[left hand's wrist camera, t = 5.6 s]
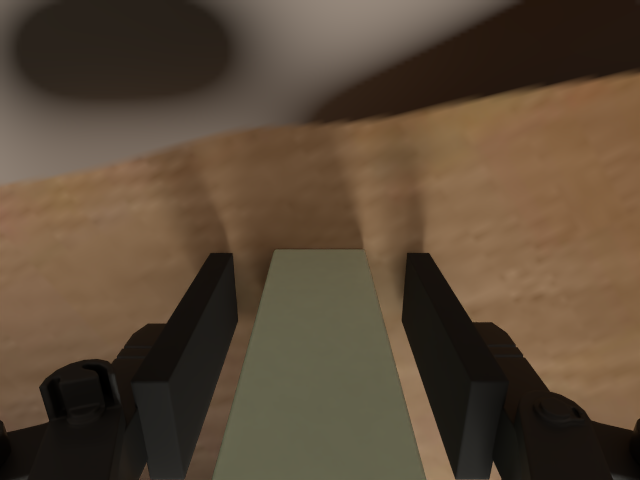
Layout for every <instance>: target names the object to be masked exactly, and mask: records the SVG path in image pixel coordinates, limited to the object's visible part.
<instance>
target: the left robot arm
mask: <svg viewBox="0 0 640 480" xmlns="http://www.w3.org/2000/svg"><path fill="white" fill-rule="evenodd" d="M237 322H238V314H237V302H236V290H235V278H234V266H233V254H232V253H210V255H209V257H208V258H207V260H206V261H205V263H204V265H203V266H202V268H201V269H200V271H199V273H198V274H197V276H196V277H195V279H194V281H193V282H192V284H191V285H190V287H189V289H188V290H187V292H186V293H185V295H184V297H183V298H182V300H181V301H180V303H179V305H178V306H177V308H176V309H175V311H174V312H173V314H172V316H171V317H170V319H169V320H168V322H167V324H147V325H145V326H144V327H143V328H141V329H140V330H138V331H137V332H136V333H134V334H133V335H132V336H131V338H130V339H129V341H128V342H127V343H126V345H125V346H124V349H122V350H121V351H120V353H119V354H118V356H117V359H115V360H114V361H113V362H112V364H110V363H109V362H108V361H104V360H99V359H91V360H82V361H79V362H75V363H71V364H69V365H67V366H65V367H62V368H60V369H58V370H56V371H55V372H54V373H52V374H51V375H50V376H48V377H47V378H46V379H45V380H44V382H43V383H42V384H41V386H40V387H39V389H40V392H41V395H42V398H43V402H44V405H45V408H46V411H47V415H48V418H49V422H48V423H44V424H41V425H37V426H33V427H29V428H24V429H20V430H16V431H11V432H6V429H5V427H4V424H3V422H2V421H1V420H0V480H139V478H140V476H141V473H142V471H143V469H144V467H145V464H146V462H147V465H148V470H149V475H150V480H184V479H185V476H186V473H187V470H188V467H189V464H190V461H191V458H192V455H193V452H194V449H195V446H196V443H197V440H198V437H199V434H200V431H201V429H202V426H203V423H204V420H205V417H206V414H207V411H208V408H209V405H210V402H211V399H212V396H213V393H214V390H215V387H216V384H217V381H218V378H219V375H220V372H221V369H222V366H223V364H224V361H225V358H226V355H227V352H228V349H229V346H230V343H231V340H232V337H233V334H234V331H235V328H236V325H237ZM402 323H403V326H404V329H405V332H406V335H407V338H408V341H409V344H410V347H411V350H412V353H413V355H414V358H415V361H416V364H417V367H418V370H419V373H420V376H421V379H422V382H423V385H424V388H425V391H426V394H427V397H428V400H429V403H430V406H431V409H432V412H433V415H434V418H435V421H436V424H437V426H438V429H439V432H440V435H441V438H442V441H443V444H444V447H445V450H446V453H447V456H448V459H449V462H450V465H451V468H452V471H453V474H454V477H455V480H489V478H490V473H491V468H492V463H493V461H494V463H495V465H496V468H497V470H498V472H499V474H500V476H501V480H640V419H638V420H637V423H636V425H635V428H634V431H632V430H628V429H623V428H619V427H614V426H610V425H606V424H601V423H598V422H595V421H591V420H590V418H589V417H588V415H587V414H586V412H585V411H584V410H583V409H582V408H581V407H580V406H578V405H577V404H576V403H575V402H574V401H572V400H570V399H568V398H566V397H564V396H562V395H560V394H556V393H553V392H550V391H549V390H548V388H547V387H546V385H545V384H544V383H543V381H542V380H541V379H540V377H539V376H538V375H537V373H536V372H535V371H534V369H533V368H532V366H531V365H530V364H529V362H528V361H527V360H526V358H523V354H522V353H521V351H520V350H519V349H518V347H516V345H515V343H514V342H513V341H512V339H511V338H510V337H509V335H508V334H507V333H506V332H505V331H503V330H502V329H501V328H499V327H498V326H496V325H495V324H493V323H492V322H472V321H471V319H470V318H469V316H468V315H467V313H466V311H465V310H464V308H463V307H462V305H461V303H460V302H459V300H458V299H457V297H456V295H455V294H454V292H453V291H452V289H451V287H450V286H449V284H448V283H447V281H446V279H445V278H444V276H443V275H442V273H441V271H440V270H439V268H438V267H437V265H436V264H435V262H434V260H433V259H432V257H431V256H430V254H429V253H407V263H406V275H405V287H404V299H403V311H402Z"/></svg>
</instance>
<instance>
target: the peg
mask: <svg viewBox="0 0 640 480" xmlns="http://www.w3.org/2000/svg"><path fill="white" fill-rule="evenodd" d="M212 480H426V477H425V473H424V469H423V466H422V462H421V458H420V454H419V451H418V447H417V443H416V439H415V436H414V432H413V428H412V424H411V421H410V417H409V413H408V410H407V406H406V402H405V398H404V395H403V391H402V387H401V383H400V380H399V376H398V372H397V368H396V365H395V361H394V357H393V354H392V350H391V346H390V342H389V339H388V335H387V331H386V327H385V324H384V320H383V316H382V312H381V309H380V305H379V301H378V298H377V294H376V290H375V286H374V283H373V279H372V275H371V271H370V268H369V264H368V260H367V256H366V253H365V250H363V249H276V250H274V252H273V256H272V260H271V263H270V267H269V271H268V274H267V278H266V282H265V285H264V289H263V293H262V297H261V300H260V304H259V308H258V311H257V315H256V319H255V322H254V326H253V330H252V333H251V337H250V341H249V344H248V348H247V352H246V355H245V359H244V363H243V366H242V370H241V374H240V377H239V381H238V385H237V388H236V392H235V396H234V399H233V403H232V407H231V411H230V414H229V418H228V422H227V425H226V429H225V433H224V436H223V440H222V444H221V447H220V451H219V455H218V458H217V462H216V466H215V469H214V473H213V477H212Z"/></svg>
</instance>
